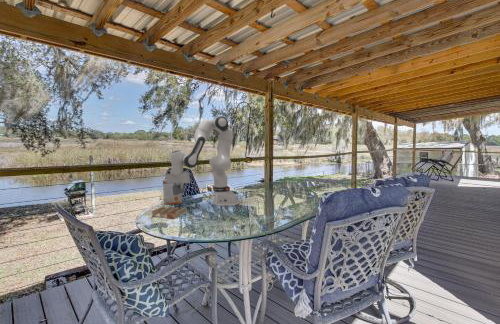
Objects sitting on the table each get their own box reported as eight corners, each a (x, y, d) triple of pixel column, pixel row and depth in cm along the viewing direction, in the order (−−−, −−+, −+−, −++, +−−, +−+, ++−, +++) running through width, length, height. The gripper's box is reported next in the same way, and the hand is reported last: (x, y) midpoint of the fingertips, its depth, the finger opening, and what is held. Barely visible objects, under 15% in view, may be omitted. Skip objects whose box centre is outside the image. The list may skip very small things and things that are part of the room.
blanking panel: (184, 191, 226) (183, 183, 225) (176, 195, 214) (175, 186, 214) (181, 191, 227) (180, 183, 226) (173, 194, 215) (172, 185, 215)
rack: (186, 212, 208) (186, 207, 208) (174, 219, 192) (174, 213, 192) (164, 210, 214) (164, 205, 214) (150, 217, 198) (150, 211, 197)
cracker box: (182, 202, 239) (181, 178, 237) (180, 204, 233) (178, 179, 231) (166, 202, 240) (165, 178, 238) (163, 204, 235) (162, 179, 232)
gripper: (191, 170, 219) (192, 188, 220) (168, 170, 225) (169, 187, 226) (187, 171, 213) (188, 189, 214) (164, 171, 219) (165, 189, 220)
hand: (178, 188), depth 220 cm, fingers closed on blanking panel, 3 cm apart
